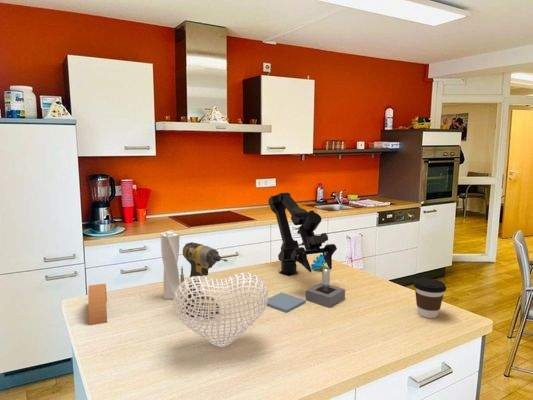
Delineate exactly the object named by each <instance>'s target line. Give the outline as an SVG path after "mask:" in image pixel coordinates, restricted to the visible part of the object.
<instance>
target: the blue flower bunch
mask: <svg viewBox="0 0 533 400" xmlns="http://www.w3.org/2000/svg"><path fill="white" fill-rule="evenodd" d="M326 264H327V263H326V261H325V259H324V255H323V253H319V256H318V255H317V256H316V257H315V259H313V260H312V263H311V265H310V267H311V270H314V271H317V270H320V268H321V269H322V268H328V266H326Z"/></svg>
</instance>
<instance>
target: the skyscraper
mask: <svg viewBox="0 0 533 400" xmlns="http://www.w3.org/2000/svg"><path fill="white" fill-rule="evenodd" d="M160 250H161V251H160V252H161V260H162V264H163V285H162V286H163V300H173V299H174V295H175V291H176V289H177V288H178V286H179V285H180V284H181V283H182V282H183V281H184V280H185V274H184V268H183V267H181V268H180V270H181V271H180V272H179V266H178V260H179V255H180V234H179V233H178V231H177V230H172V229H171V230H166V231H164V232H161V233H160ZM184 287H185V285H184V286H183V287H182V288H184ZM185 290H186V289H185ZM185 290H184V291H185ZM182 291H183V290H182ZM179 292H180V290H179ZM179 292H178V293H179ZM180 294H182V293H180ZM178 298H179V296H178ZM181 300H183V295H182V296H181Z"/></svg>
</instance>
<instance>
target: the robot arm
mask: <svg viewBox="0 0 533 400" xmlns="http://www.w3.org/2000/svg"><path fill="white" fill-rule="evenodd" d="M268 205H269V207H270V210H271V212H273V213H274V214H275V216H276V217H275V218H276V221H277V225H278V229H279V233H280V237H281V240H282V241H281V245H280V251H279V253H278V256H277V258H278V260H279V261H280V262H281V265H280V266H281V267H280V269H281V270H280V271H278V273H279V274H282V275H285V276H287V277H288V276H290V277H291V276H293V275H295V274H297V273H298V271H297V266H298V265H297V262H298V263H299V265H301V266H302V267H304V268H305V270H307V271H308V272H309V273H312V268H311V267H312V266H311V265H310V262H309V260H308V255H315V254H322V255H324V259H325V260H324V261H326V263H325V264H326V265H327V268H330V270H332V269H333V266H332V265H333V263H332V261H333V260H332V259H333V258H332V256H333V255H334V254H335V252H336V251H337V249H338V248H337V246H336V244H334V243H328V244H327V243H326V242H327V241H329V237H328V234H327V232H323V233H321V234H315V232H314V231H316V230H317V229H318V226H319V225H320V224H321V222H322V216H321V215H320V214H319V213H317V212H315V210H314V209H313V210H309V211H308V210H306V209H305V208H302V207H300V206H299V205H298V203H297V202H296V201H295V200H294V199H293V198H292V196H291V193H290V192H280V193H278V194H276V195H271V196H270V197H269V198H268ZM286 210H287V211H288V212H289V215H290V220H291V221H292V224H293V225H294V226H299V227H298V230H297V233H296V234H297V235H300V237H301V240H302V242H301V245H302V246H301V247H300V246H299V242H298V240H295V239H294V238H293V236H292V235H293V234H292V232H291V227H290V225H289V224H290V223H289V221H288V216H287V212H286ZM325 243H326V245H324V247H322V246H323V244H325ZM303 246H304V247H303ZM321 247H322V248H321Z"/></svg>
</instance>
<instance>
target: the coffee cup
mask: <svg viewBox="0 0 533 400" xmlns="http://www.w3.org/2000/svg"><path fill="white" fill-rule="evenodd" d="M412 285H413V287H414V288H415V289H414V291H415V292H414V293H415V302H416V303H415V304H416V306H417V312H418V314H419V315H420V317H422V318H425V319H426V318H427V319H435V318H437V317H438V316H439V311H440V309H441V307H442V302H443V298H444V293H445V292H446V291H447V285H446V284H445V283H444V282H443V281H441V280H439V279H435V278H429V277H428V278H427V277H420V278H416V279H415V280H414V282H413V284H412Z"/></svg>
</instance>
